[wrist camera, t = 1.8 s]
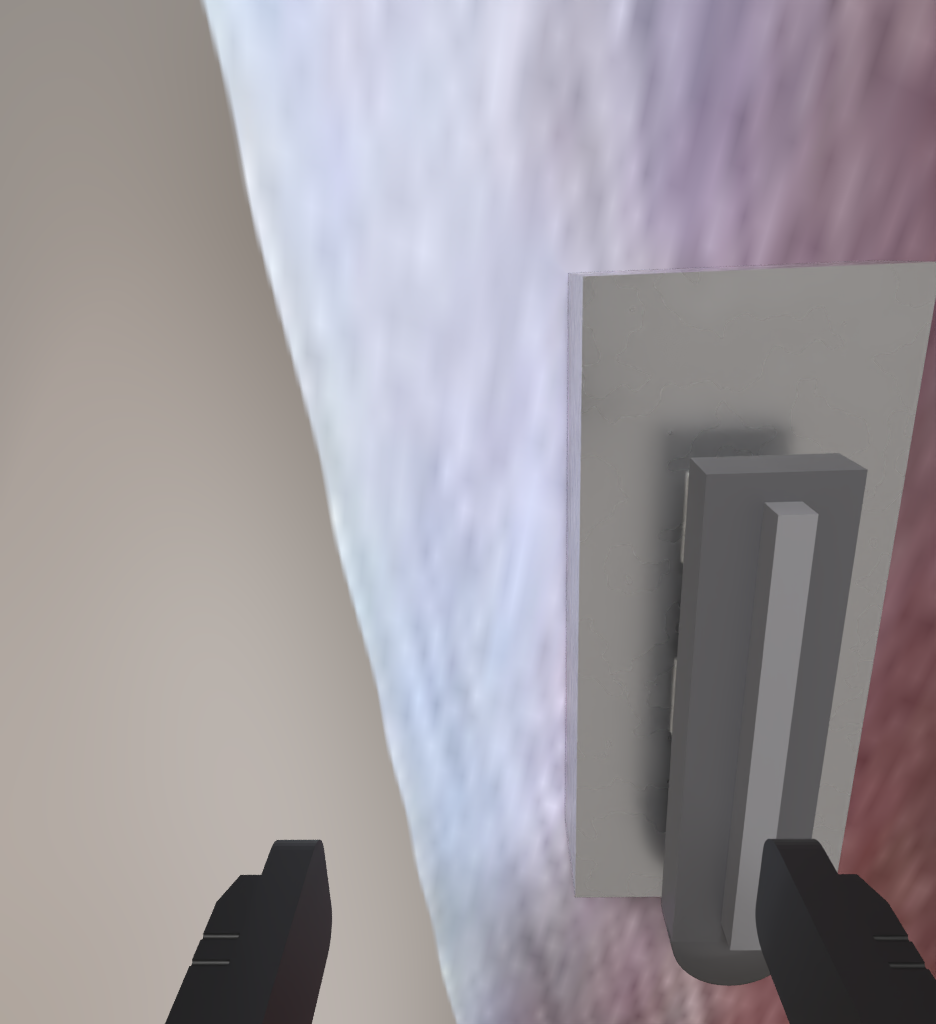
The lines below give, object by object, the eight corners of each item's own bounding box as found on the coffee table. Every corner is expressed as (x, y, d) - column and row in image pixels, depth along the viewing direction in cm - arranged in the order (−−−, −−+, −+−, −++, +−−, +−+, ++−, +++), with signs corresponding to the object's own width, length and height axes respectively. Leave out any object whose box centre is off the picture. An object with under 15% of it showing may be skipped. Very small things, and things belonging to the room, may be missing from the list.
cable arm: (838, 453, 24) (887, 480, 21) (771, 942, 32) (800, 1013, 29) (690, 457, 25) (717, 486, 22) (658, 942, 32) (675, 1013, 29)
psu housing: (868, 260, 29) (973, 262, 23) (791, 817, 38) (850, 928, 32) (568, 272, 29) (589, 277, 23) (564, 819, 39) (579, 929, 32)
